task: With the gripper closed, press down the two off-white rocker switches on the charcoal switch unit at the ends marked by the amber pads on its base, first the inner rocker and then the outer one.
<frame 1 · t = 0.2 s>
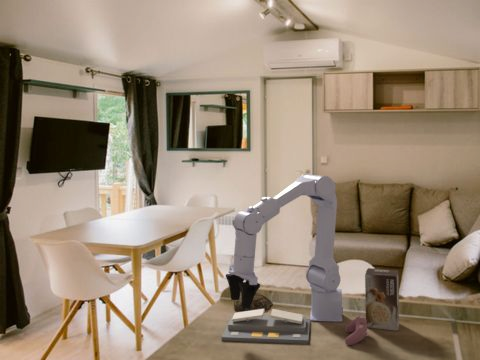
hand: (240, 303, 144), 10 cm above the table, tool pointing down, fingers open, 7 cm apart
coffee box: (382, 325, 152), on the table
bread roll: (252, 306, 171), on the table
pink curved piece: (356, 339, 144), on the table
switch unit: (267, 330, 151), on the table
inner rocker: (286, 317, 151), point 4 cm above the table, hinge at -10.0°
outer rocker: (248, 315, 153), point 4 cm above the table, hinge at 10.0°
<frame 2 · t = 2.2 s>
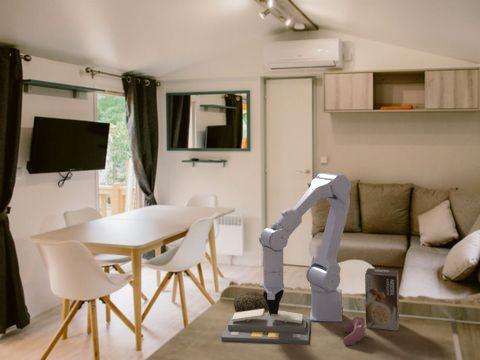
hand: (273, 315, 151), 4 cm above the table, tool pointing down, fingers closed, pressing on inner rocker
inner rocker: (286, 317, 151), point 4 cm above the table, hinge at -7.5°, touching gripper
everything else where it was.
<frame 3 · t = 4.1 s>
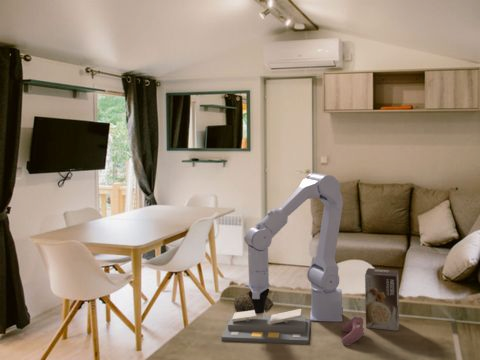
hand: (259, 314, 152), 4 cm above the table, tool pointing down, fingers closed, pressing on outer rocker
inner rocker: (286, 317, 151), point 4 cm above the table, hinge at 14.0°
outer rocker: (248, 315, 153), point 4 cm above the table, hinge at 9.8°, touching gripper
everything else where it was.
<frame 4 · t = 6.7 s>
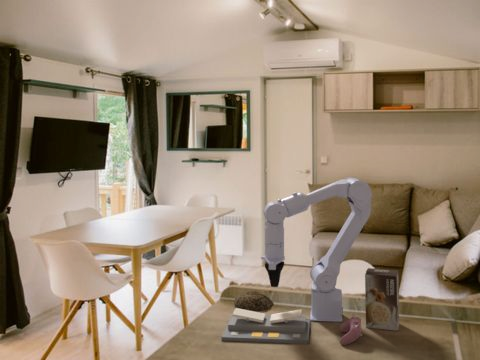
hand: (274, 286, 158), 10 cm above the table, tool pointing down, fingers closed
inner rocker: (286, 317, 151), point 4 cm above the table, hinge at 11.4°
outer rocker: (248, 315, 152), point 4 cm above the table, hinge at -9.8°
at the end: inner rocker at +11° (first picture: -10°); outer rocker at -10° (first picture: +10°) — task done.
